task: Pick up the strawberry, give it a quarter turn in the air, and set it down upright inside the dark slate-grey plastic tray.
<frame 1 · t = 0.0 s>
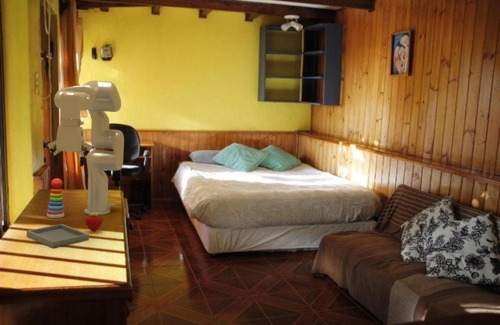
hand: (69, 165, 194), 31 cm above the table, tool pointing down, fingers open, 9 cm apart
stacking toy: (55, 217, 230), on the table
strawberry: (93, 232, 210), on the table
tray: (57, 238, 199), on the table
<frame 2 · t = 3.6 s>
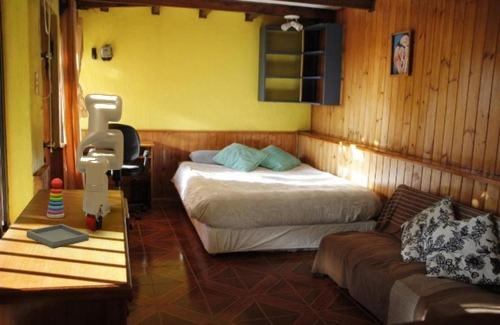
hand: (93, 227, 210), 2 cm above the table, tool pointing down, fingers closed on strawberry, 6 cm apart
strawberry: (93, 232, 210), on the table, touching gripper
everything else where it was.
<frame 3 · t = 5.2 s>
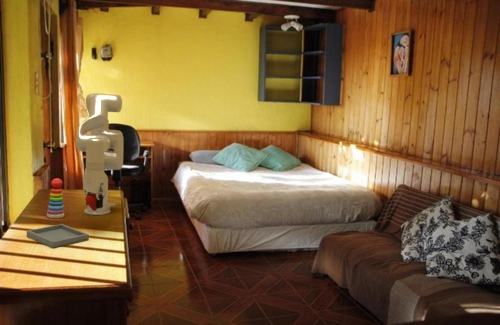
hand: (94, 205, 209), 12 cm above the table, tool pointing down, fingers closed on strawberry, 6 cm apart
strawberry: (94, 211, 209), point 9 cm above the table, touching gripper
everything else where it was.
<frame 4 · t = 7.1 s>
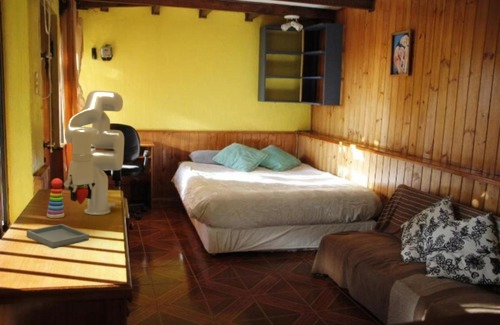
hand: (81, 199, 204), 15 cm above the table, tool pointing down, fingers closed on strawberry, 6 cm apart
strawberry: (80, 204, 204), point 13 cm above the table, touching gripper
everything else where it was.
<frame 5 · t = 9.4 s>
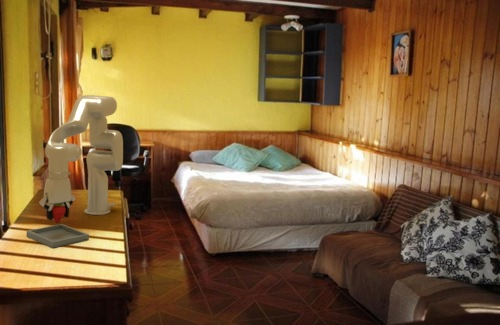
hand: (57, 217, 197), 9 cm above the table, tool pointing down, fingers closed on strawberry, 6 cm apart
strawberry: (57, 223, 198), point 6 cm above the table, touching gripper
everything else where it was.
when the fingers open (4 cm above the table, at t = 10.7 s): strawberry drops 1 cm, resting on tray.
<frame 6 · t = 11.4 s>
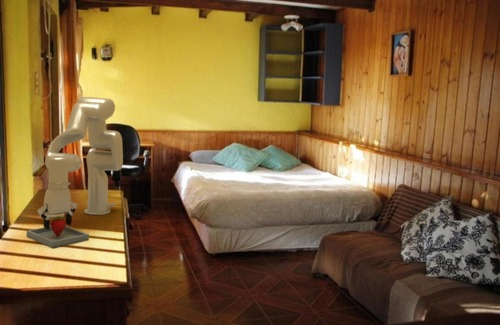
hand: (57, 226, 198), 5 cm above the table, tool pointing down, fingers open, 9 cm apart
strawberry: (58, 236, 199), point 1 cm above the table, touching tray
everything else where it was.
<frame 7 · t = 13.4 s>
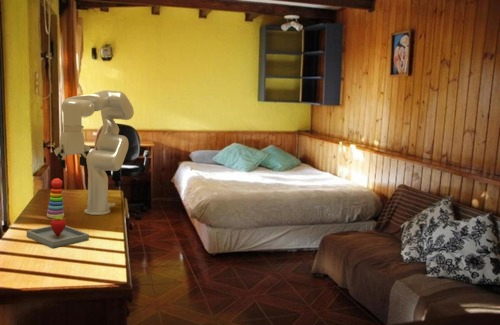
hand: (72, 166, 213), 27 cm above the table, tool pointing down, fingers open, 9 cm apart
nothing on the table moved.
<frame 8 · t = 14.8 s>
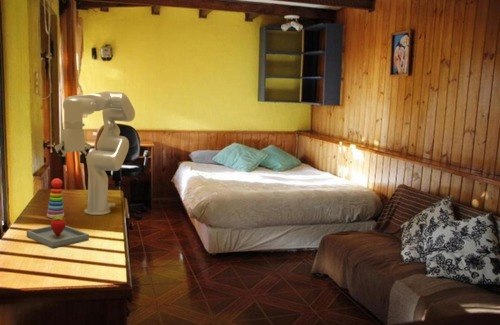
hand: (73, 164, 214), 28 cm above the table, tool pointing down, fingers open, 9 cm apart
nothing on the table moved.
at the end: strawberry inside the target area on the tray (0.2 cm from its centre), point 0.6 cm above the tray's base; strawberry tilted 0°; the gripper is holding nothing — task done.
